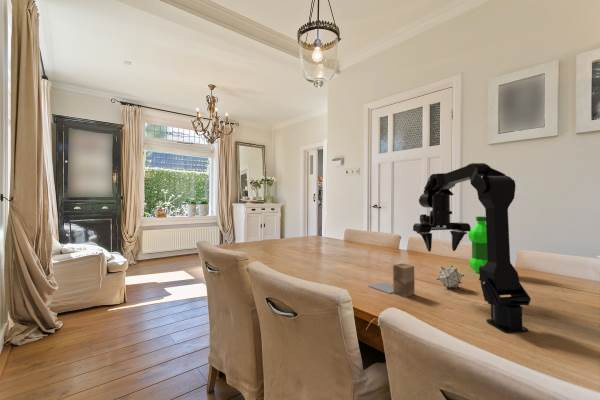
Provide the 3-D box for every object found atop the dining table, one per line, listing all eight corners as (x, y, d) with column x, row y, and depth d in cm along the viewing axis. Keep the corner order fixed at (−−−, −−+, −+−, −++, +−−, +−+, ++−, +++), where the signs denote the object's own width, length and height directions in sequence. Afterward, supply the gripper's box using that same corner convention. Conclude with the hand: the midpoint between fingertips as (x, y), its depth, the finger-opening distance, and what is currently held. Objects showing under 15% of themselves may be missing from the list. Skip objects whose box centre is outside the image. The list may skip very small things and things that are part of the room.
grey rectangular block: (414, 294, 97) (414, 266, 97) (405, 297, 94) (405, 268, 94) (402, 290, 101) (401, 263, 101) (393, 293, 99) (393, 265, 98)
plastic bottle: (495, 271, 126) (494, 216, 125) (496, 276, 117) (496, 217, 116) (469, 268, 131) (468, 215, 131) (469, 273, 122) (468, 217, 122)
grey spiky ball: (456, 299, 102) (470, 282, 96) (433, 289, 104) (446, 272, 98) (453, 281, 109) (467, 264, 103) (432, 273, 111) (444, 256, 105)
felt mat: (403, 289, 103) (403, 288, 103) (389, 293, 98) (389, 292, 98) (382, 282, 111) (382, 282, 111) (368, 286, 106) (368, 285, 106)
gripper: (452, 207, 109) (452, 246, 109) (406, 208, 108) (406, 248, 108) (471, 208, 98) (472, 252, 98) (420, 209, 96) (420, 253, 96)
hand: (441, 251), depth 100 cm, fingers open, 9 cm apart
